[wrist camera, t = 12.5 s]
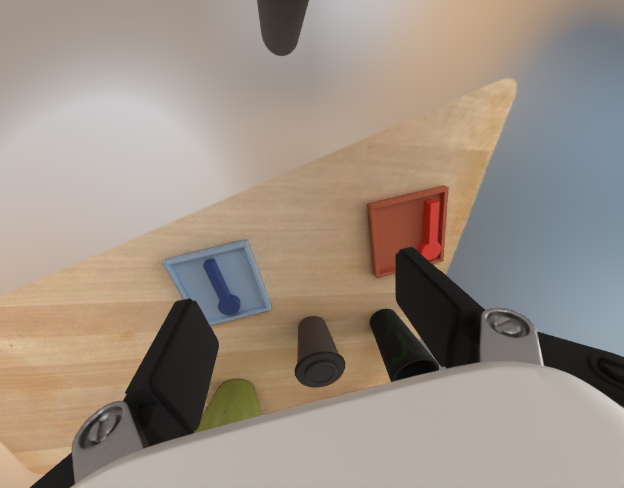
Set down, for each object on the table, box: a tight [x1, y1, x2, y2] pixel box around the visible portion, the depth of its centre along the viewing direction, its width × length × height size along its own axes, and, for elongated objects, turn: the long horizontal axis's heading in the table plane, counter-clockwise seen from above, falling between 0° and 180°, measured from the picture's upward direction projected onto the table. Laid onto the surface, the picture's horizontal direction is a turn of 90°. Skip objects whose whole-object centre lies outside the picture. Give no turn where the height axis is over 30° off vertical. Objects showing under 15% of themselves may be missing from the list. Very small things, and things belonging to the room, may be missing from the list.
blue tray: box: [163, 239, 271, 326], centre depth 37 cm, size 13×12×1 cm
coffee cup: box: [295, 316, 345, 387], centre depth 40 cm, size 8×8×10 cm
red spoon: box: [418, 199, 441, 260], centre depth 38 cm, size 10×3×2 cm, turn 11°
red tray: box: [367, 186, 449, 278], centre depth 38 cm, size 13×12×1 cm
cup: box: [370, 309, 439, 382], centre depth 41 cm, size 8×8×12 cm
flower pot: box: [194, 379, 261, 433], centre depth 42 cm, size 15×15×16 cm
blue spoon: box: [203, 258, 241, 315], centre depth 37 cm, size 10×3×2 cm, turn 11°
